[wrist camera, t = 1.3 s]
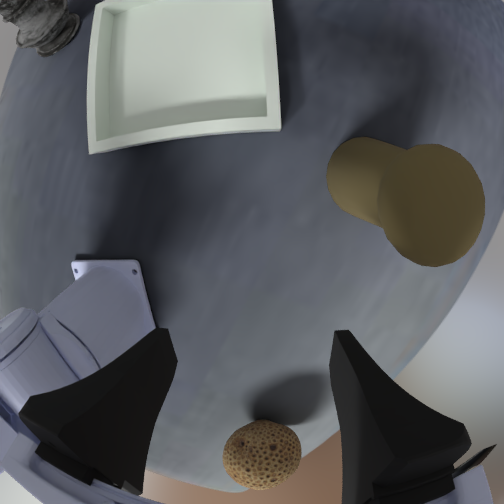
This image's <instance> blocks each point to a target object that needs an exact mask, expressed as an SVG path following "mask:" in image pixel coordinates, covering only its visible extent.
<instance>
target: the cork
mask: <svg viewBox="0 0 504 504" xmlns="http://www.w3.org/2000/svg"><path fill="white" fill-rule="evenodd" d="M326 178H327V184H328V190H329V192H330V194H331V196H332V198H333V200H334V202H335V203H336V204H337V205H338V206H339V207H340V208H341V209H342V210H343V211H345V212H347V213H349V214H351V215H353V216H355V217H358V218H360V219H363V220H365V221H367V222H370V223H372V224H375V225H377V226H379V227H381V228H383V229H384V232H385V234H386V237H387V239H388V240H389V241H390V242H391V244H392V245H393V246H394V247H395V248H396V250H397V251H398V252H399V253H400V254H401V255H402V256H404V257H405V258H407V259H409V260H411V261H412V262H414V263H416V264H419V265H422V266H430V267H438V266H443V265H446V264H450V263H453V262H455V261H457V260H458V259H460V258H461V257H462V256H464V255H465V254H466V253H467V252H468V251H469V249H470V248H471V247H472V246H473V245H474V243H475V241H476V239H477V237H478V235H479V233H480V231H481V228H482V224H483V220H484V215H485V196H484V192H483V187H482V183H481V181H480V179H479V177H478V175H477V174H476V172H475V170H474V168H473V167H472V165H471V164H470V163H469V162H468V161H467V160H466V159H465V158H464V157H463V156H462V155H461V154H460V153H458V152H456V151H454V150H452V149H450V148H447V147H445V146H442V145H439V144H424V145H416V146H414V147H412V148H410V149H408V150H406V149H403V148H400V147H397V146H395V145H392V144H389V143H386V142H383V141H380V140H377V139H373V138H368V137H358V138H352V139H350V140H348V141H346V142H344V143H342V144H341V145H340V146H339V147H338V148H337V149H336V150H335V151H334V152H333V155H332V157H331V159H330V161H329V163H328V168H327V175H326Z"/></svg>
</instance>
